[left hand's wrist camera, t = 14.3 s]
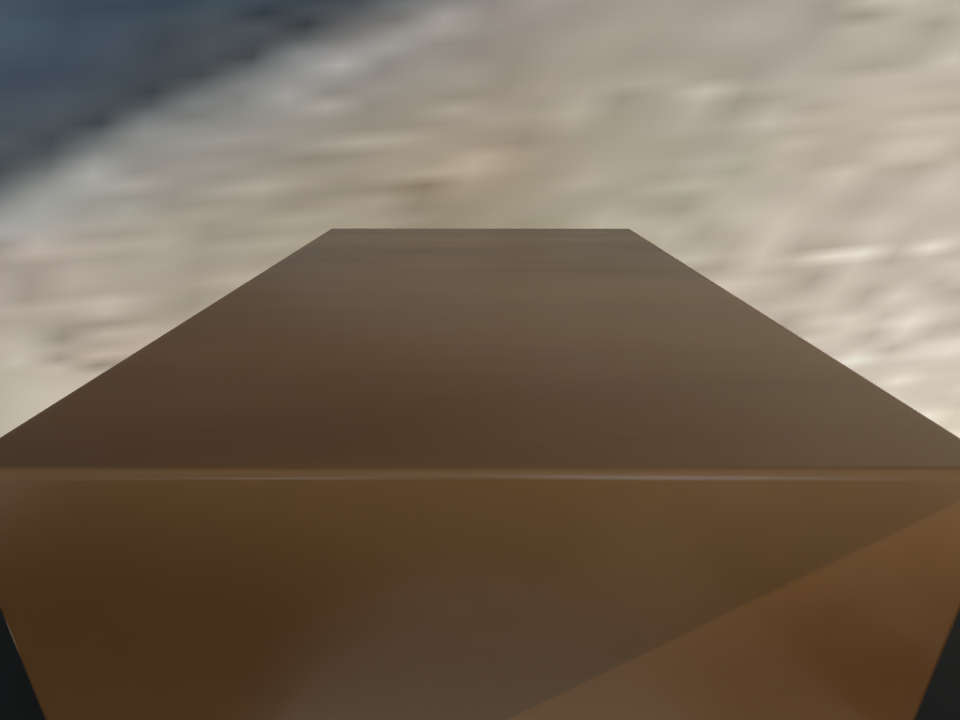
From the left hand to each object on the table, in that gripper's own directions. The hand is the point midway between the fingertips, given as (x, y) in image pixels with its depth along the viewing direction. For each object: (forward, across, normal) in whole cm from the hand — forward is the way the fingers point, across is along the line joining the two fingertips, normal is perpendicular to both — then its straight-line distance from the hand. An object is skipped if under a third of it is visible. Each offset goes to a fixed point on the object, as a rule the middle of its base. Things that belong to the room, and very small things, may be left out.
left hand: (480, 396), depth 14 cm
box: (+2, 0, -11) cm, 11 cm away
